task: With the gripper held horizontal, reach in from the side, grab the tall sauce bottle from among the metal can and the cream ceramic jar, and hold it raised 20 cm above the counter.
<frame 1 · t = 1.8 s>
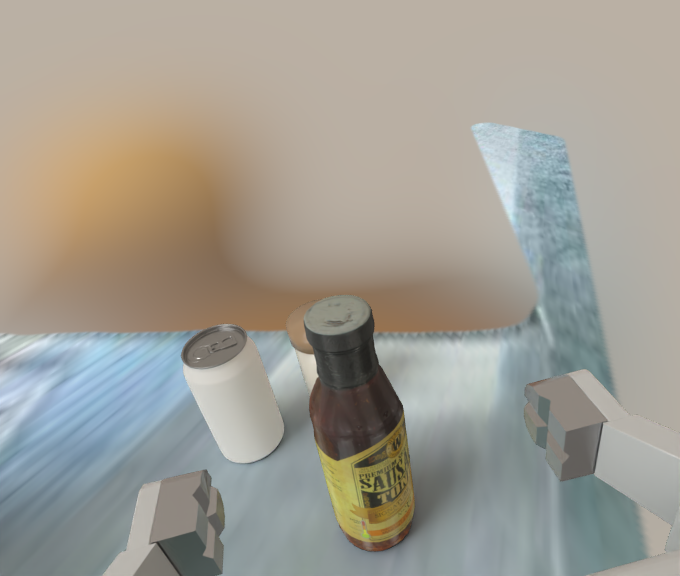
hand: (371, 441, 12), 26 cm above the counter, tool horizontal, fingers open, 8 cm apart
spice jar: (339, 400, 49), on the counter
sauce bottle: (378, 515, 38), on the counter
can: (253, 438, 47), on the counter
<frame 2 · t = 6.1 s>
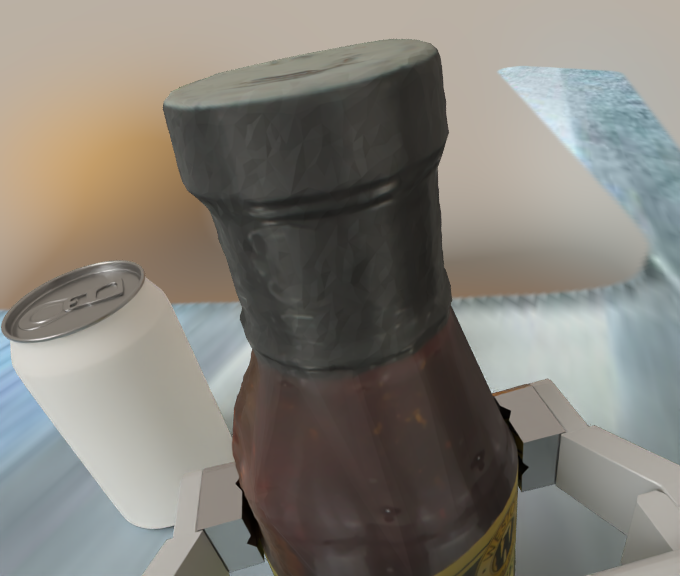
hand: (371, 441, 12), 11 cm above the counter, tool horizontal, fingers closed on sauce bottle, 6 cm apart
can: (182, 478, 26), on the counter
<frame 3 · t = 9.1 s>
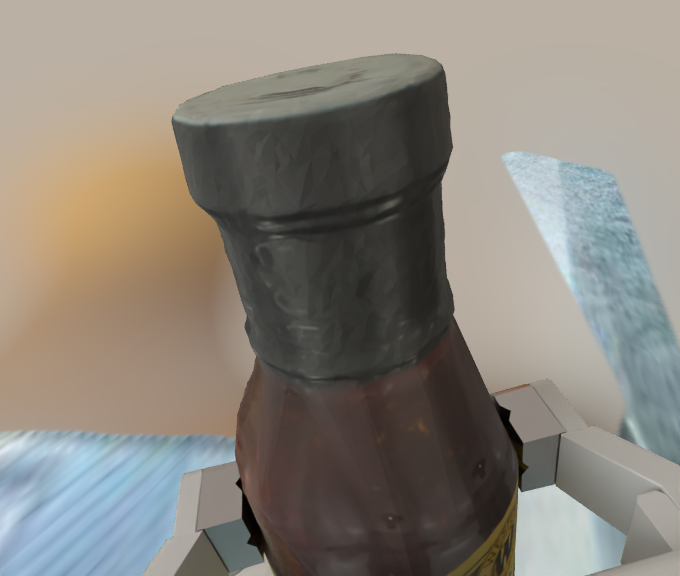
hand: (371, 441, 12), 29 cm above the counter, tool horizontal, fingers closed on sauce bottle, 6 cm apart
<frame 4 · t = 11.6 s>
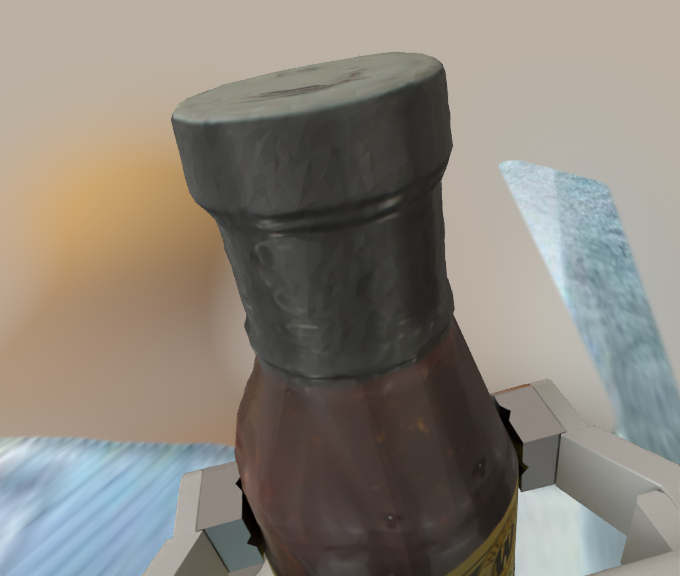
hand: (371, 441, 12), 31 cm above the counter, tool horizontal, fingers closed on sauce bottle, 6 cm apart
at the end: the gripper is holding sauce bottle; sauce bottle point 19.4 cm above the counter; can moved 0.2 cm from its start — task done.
